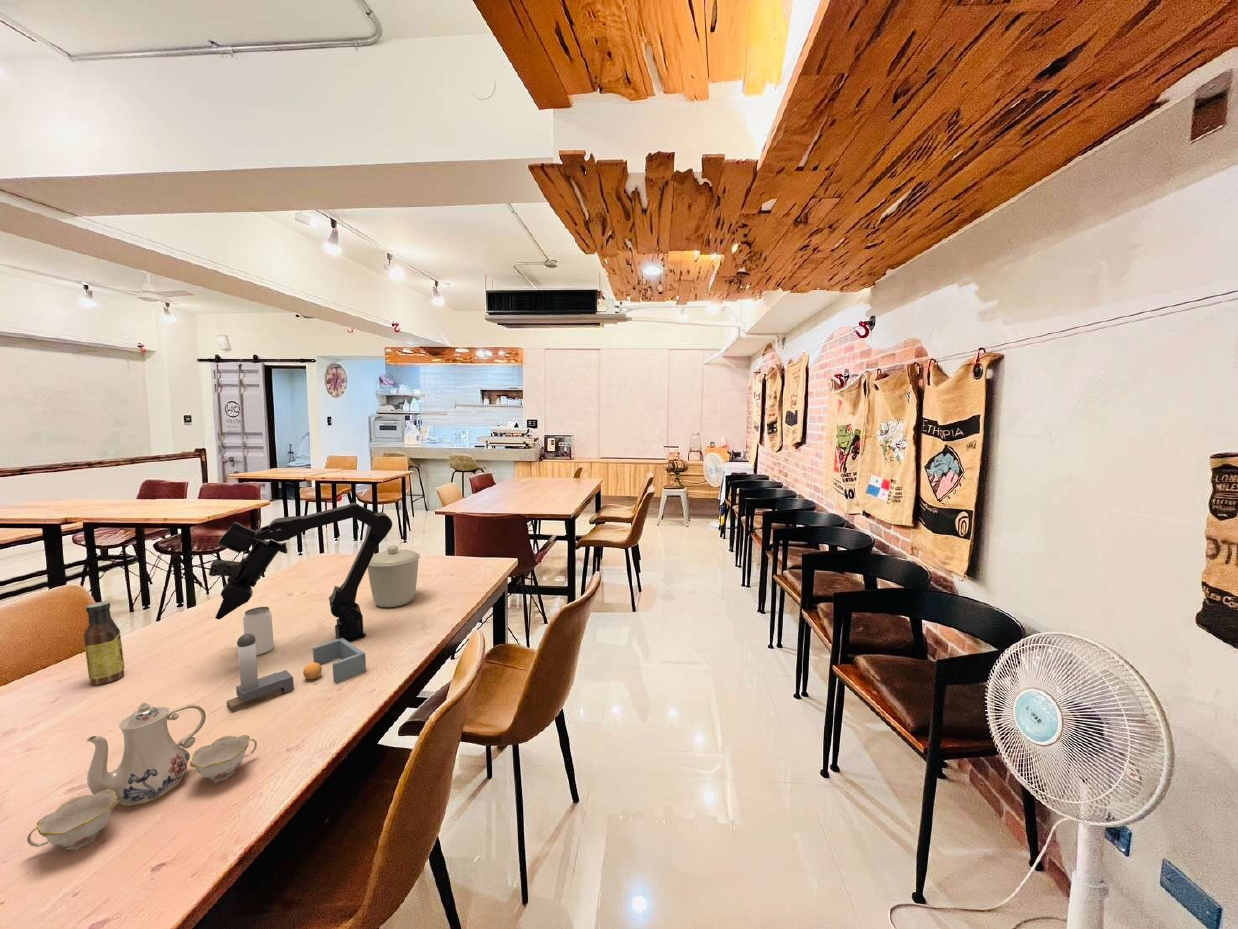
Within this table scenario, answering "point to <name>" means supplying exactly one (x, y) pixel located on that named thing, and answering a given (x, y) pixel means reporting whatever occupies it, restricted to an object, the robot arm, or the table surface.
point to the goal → (350, 655)
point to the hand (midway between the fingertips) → (219, 612)
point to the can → (260, 628)
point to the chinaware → (138, 774)
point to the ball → (312, 670)
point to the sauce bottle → (103, 645)
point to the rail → (250, 701)
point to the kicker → (249, 676)
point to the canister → (393, 576)
